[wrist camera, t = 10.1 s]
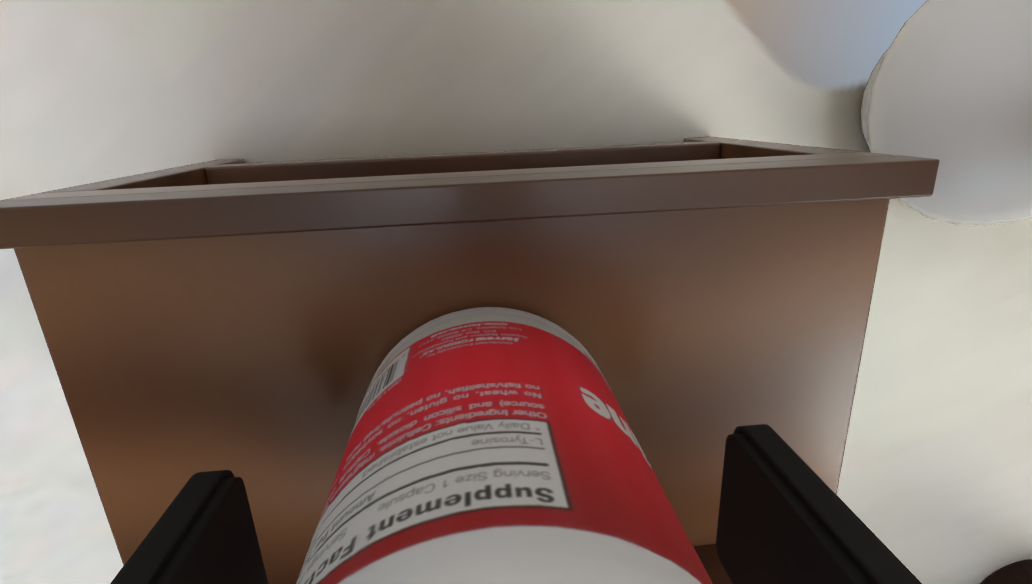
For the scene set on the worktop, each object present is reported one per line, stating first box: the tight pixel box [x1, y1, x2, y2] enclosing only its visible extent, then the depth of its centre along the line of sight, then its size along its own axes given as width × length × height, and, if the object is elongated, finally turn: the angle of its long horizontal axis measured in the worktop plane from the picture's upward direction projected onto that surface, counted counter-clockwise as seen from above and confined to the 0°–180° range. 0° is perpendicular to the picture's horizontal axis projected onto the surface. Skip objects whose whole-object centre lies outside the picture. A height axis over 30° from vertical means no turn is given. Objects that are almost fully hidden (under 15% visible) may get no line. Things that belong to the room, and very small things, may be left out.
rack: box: [0, 137, 940, 584], centre depth 17 cm, size 12×20×13 cm, turn 93°
